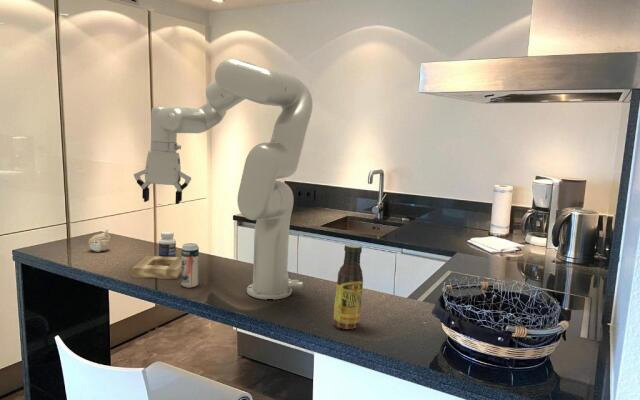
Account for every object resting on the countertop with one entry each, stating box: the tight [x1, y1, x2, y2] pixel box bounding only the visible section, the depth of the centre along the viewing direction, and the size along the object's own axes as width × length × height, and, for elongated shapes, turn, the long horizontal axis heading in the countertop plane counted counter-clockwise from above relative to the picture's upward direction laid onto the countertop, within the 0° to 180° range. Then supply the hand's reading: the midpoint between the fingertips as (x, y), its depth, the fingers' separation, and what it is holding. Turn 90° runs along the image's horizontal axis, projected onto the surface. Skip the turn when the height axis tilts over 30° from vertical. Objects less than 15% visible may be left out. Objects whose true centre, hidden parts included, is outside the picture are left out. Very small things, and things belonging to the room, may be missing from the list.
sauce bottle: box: [333, 243, 364, 330], centre depth 112 cm, size 7×6×20 cm
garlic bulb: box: [87, 228, 111, 253], centre depth 165 cm, size 7×6×8 cm
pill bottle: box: [158, 231, 177, 257], centre depth 157 cm, size 5×5×10 cm
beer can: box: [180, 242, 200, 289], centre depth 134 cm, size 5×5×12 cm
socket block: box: [131, 255, 182, 280], centre depth 146 cm, size 13×13×3 cm
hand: (162, 202), depth 148 cm, fingers open, 9 cm apart
